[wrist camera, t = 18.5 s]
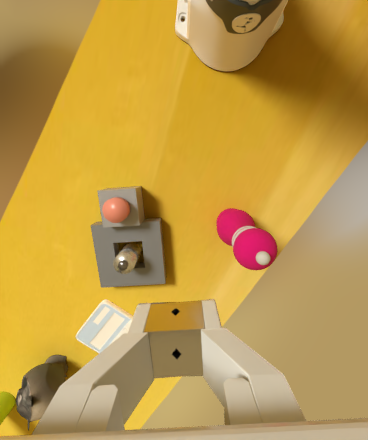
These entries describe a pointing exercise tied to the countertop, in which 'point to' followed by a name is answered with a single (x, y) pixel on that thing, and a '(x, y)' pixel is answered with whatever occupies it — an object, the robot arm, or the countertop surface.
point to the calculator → (104, 326)
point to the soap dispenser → (5, 404)
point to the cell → (127, 258)
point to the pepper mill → (246, 239)
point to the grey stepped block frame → (129, 232)
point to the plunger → (116, 209)
